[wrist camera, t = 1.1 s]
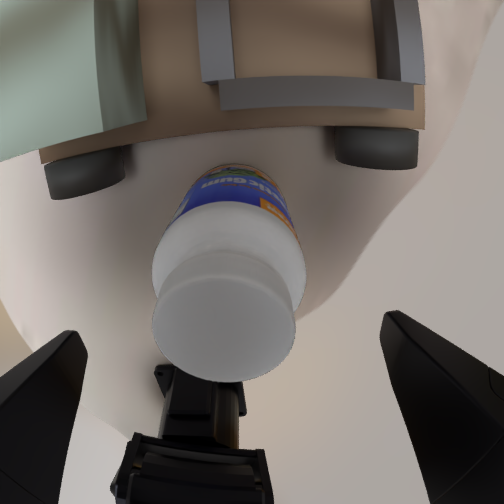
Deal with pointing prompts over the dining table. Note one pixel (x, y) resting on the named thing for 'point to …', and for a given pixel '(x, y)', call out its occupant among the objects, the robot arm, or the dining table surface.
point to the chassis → (205, 78)
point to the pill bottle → (228, 278)
